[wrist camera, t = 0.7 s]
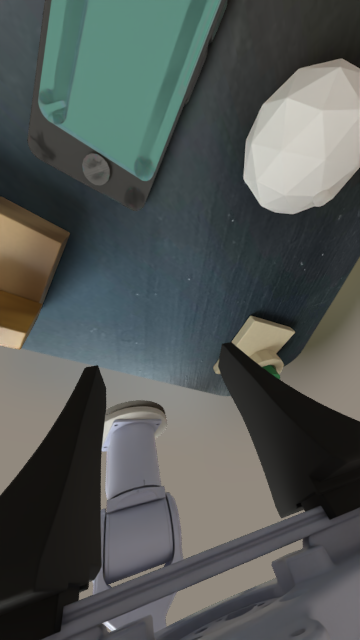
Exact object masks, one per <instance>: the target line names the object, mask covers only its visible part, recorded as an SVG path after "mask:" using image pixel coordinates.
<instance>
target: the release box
mask: <svg viewBox="0 0 360 640" xmlns="http://www.w3.org/2000/svg"><path fill="white" fill-rule="evenodd" d="M294 333H295V331H294V330H293V329H292V328H291V327H288V326H285V325H281V324H278V323H274V322H271V321H268V320H264V319H261V318H257V317H254V316H250V317H249V318H248V319H247V321H246V322H245V324H244V325H243V326H242V328H241V329H240V331H239V332H238V333H237V335H236V336H235V338H234V339H233V340H232V343H233V344H234V345H235V346H237V347H238V348H239V349H240V350H241V351H243V352H244V353H245V354H246V355H247V356H249V357H250V358H251V359H252V360H254V361H255V362H256V363H257V364H259V365H260V366H261V367H263V366H266V365H272V366H273V367H274V369H275V370H276V371H277V372H278V374H279V373H281V371H282V369H283V366H284V364H283V362H282V360H281V359H280V358H279V357H278V356H277V354H276V353H277V352H278V351H279V350H280V349H281V348H282V346H283V345H284V344H285V343H286V342H287V341H288V340H289V339H290V338H291V336H292V335H293V334H294ZM218 363H219V360H218V361H217V363H216V364H215V365H214V367H213V369H214V371H215V373H216V374H221V373H220V370H219V368H218Z"/></svg>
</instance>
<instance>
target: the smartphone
mask: <svg viewBox="0 0 360 640" xmlns="http://www.w3.org/2000/svg"><path fill="white" fill-rule="evenodd" d="M227 4H228V2H227V0H45V3H44V11H43V19H42V27H41V35H40V43H39V51H38V59H37V67H36V75H35V83H34V91H33V99H32V107H31V115H30V123H29V131H28V139H27V141H28V145H29V148H30V150H31V151H32V153H33V154H34V155H35V156H36V157H37V158H38V159H40V160H42V161H43V162H45V163H47V164H49V165H51V166H53V167H54V168H56V169H58V170H60V171H62V172H64V173H65V174H67V175H69V176H71V177H73V178H74V179H76V180H78V181H80V182H82V183H84V184H85V185H87V186H89V187H91V188H93V189H94V190H96V191H98V192H100V193H102V194H104V195H105V196H107V197H109V198H111V199H113V200H115V201H116V202H118V203H120V204H122V205H124V206H125V207H127V208H129V209H131V210H133V211H138V210H141V209H142V208H143V207H144V204H145V202H146V199H147V197H148V194H149V192H150V189H151V187H152V184H153V182H154V179H155V177H156V174H157V172H158V169H159V166H160V164H161V161H162V159H163V156H164V154H165V151H166V149H167V146H168V144H169V141H170V139H171V136H172V134H173V131H174V129H175V126H176V123H177V121H178V118H179V116H180V113H181V111H182V108H183V106H184V105H185V104H187V103H188V101H189V98H190V96H191V93H192V91H193V88H194V86H195V83H196V81H197V79H198V76H199V74H200V71H201V69H202V66H203V64H204V61H205V59H206V56H207V53H208V52H207V49H208V48H207V45H208V44H209V43H210V42H211V43H212V41H213V39H214V36H215V34H216V31H217V29H218V26H219V24H220V21H221V19H222V16H223V14H224V11H225V9H226V6H227Z"/></svg>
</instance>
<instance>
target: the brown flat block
mask: <svg viewBox="0 0 360 640" xmlns="http://www.w3.org/2000/svg"><path fill="white" fill-rule="evenodd" d="M69 235H70V233H69V232H68V231H66V230H64V229H62V228H60V227H58V226H56V225H54V224H52V223H51V222H49V221H47V220H45V219H43V218H41V217H39V216H37V215H35V214H34V213H32V212H30V211H28V210H26V209H24V208H22V207H20V206H18V205H17V204H15V203H13V202H11V201H9V200H7V199H5V198H3V197H1V196H0V290H2V291H5V292H8V293H11V294H14V295H17V296H20V297H23V298H26V299H29V300H32V301H35V302H38V303H41V304H43V302H44V299H45V297H46V294H47V292H48V289H49V286H50V284H51V281H52V279H53V276H54V274H55V271H56V269H57V266H58V263H59V261H60V258H61V256H62V253H63V251H64V248H65V245H66V243H67V240H68V238H69Z"/></svg>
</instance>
